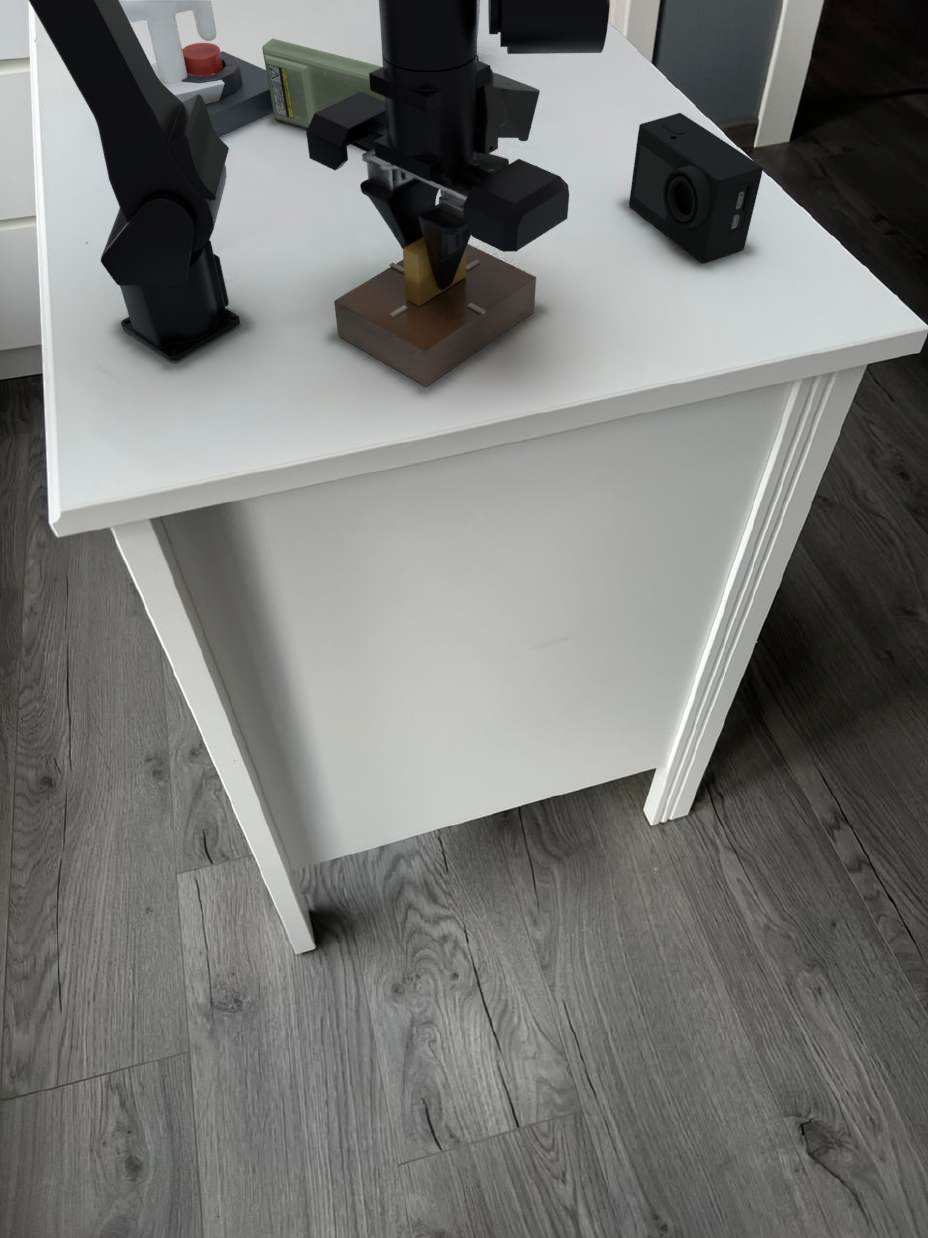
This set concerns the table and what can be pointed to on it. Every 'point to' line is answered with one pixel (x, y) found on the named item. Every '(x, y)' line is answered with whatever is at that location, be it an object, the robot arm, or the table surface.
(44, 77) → the table surface
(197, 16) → the white bracket
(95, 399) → the table surface
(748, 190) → the digital camera
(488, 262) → the plate
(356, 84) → the handheld radio
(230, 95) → the box
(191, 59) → the release button
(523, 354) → the table surface
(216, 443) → the table surface
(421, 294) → the gold box
